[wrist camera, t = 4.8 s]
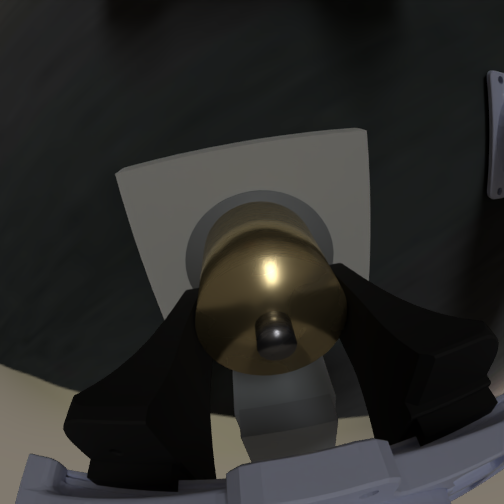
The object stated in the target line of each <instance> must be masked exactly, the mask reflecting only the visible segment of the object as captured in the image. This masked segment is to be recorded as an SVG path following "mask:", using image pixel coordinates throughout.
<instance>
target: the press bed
mask: <svg viewBox="0 0 504 504" xmlns="http://www.w3.org/2000/svg"><path fill="white" fill-rule="evenodd" d="M115 175H116V178H117V182H118V186H119V189H120V193H121V196H122V200H123V203H124V206H125V210H126V213H127V216H128V219H129V223H130V226H131V229H132V232H133V235H134V238H135V241H136V244H137V247H138V250H139V253H140V256H141V259H142V262H143V264H144V267H145V270H146V273H147V276H148V278H149V281H150V284H151V286H152V289H153V292H154V294H155V297H156V300H157V302H158V305H159V307H160V310H161V312H162V315H163V317H164V320H165V319H166V317H167V316H168V315H169V313H170V312H171V311H172V309H173V308H174V306H175V305H176V303H177V302H178V300H179V299H180V298H181V296H182V295H183V293H184V292H185V291H186V290H189V289H195V288H199V284H200V276H201V268H202V261H203V254H204V247H205V241H206V238H207V235H208V233H209V231H210V229H211V228H212V226H213V225H214V223H215V222H216V221H217V220H218V219H219V218H220V217H221V216H222V215H223V214H225V213H226V212H227V211H229V210H231V209H233V208H235V207H236V206H239V205H242V204H245V203H250V202H258V201H262V202H272V203H276V204H280V205H282V206H285V207H287V208H289V209H290V210H292V211H293V212H295V213H296V214H297V215H298V216H299V217H300V218H301V219H302V220H303V221H304V222H305V224H306V226H307V227H308V229H309V231H310V232H311V234H312V236H313V237H314V239H315V241H316V243H317V244H318V246H319V248H320V250H321V251H322V253H323V255H324V257H325V258H326V260H327V262H328V264H329V265H331V264H336V263H342V264H344V265H345V266H347V267H348V268H350V269H351V270H353V271H354V272H356V273H357V274H359V275H360V276H362V277H363V278H365V279H366V280H368V281H369V264H370V181H369V159H368V143H367V131H366V130H363V129H359V128H347V129H335V130H325V131H315V132H306V133H298V134H290V135H283V136H275V137H268V138H262V139H255V140H249V141H243V142H237V143H232V144H226V145H221V146H216V147H210V148H205V149H201V150H196V151H191V152H186V153H182V154H177V155H173V156H169V157H164V158H160V159H156V160H152V161H148V162H144V163H140V164H136V165H133V166H129V167H125V168H123V169H121V170H120V171H119V172H117V173H116V174H115ZM233 392H234V413H235V417H236V420H237V422H238V425H239V427H240V432H241V439H242V441H243V444H244V446H245V448H246V450H247V452H248V455H249V457H250V460H251V462H255V461H260V460H267V459H274V458H280V457H286V456H292V455H297V454H303V453H308V452H313V451H317V450H322V449H326V448H331V447H335V443H336V434H337V426H338V418H337V414H336V411H335V401H336V396H335V393H334V390H333V387H332V383H331V380H330V377H329V374H328V371H327V368H326V365H325V362H324V359H323V356H321V357H320V358H319V359H317V360H316V361H314V362H312V363H311V364H309V365H307V366H305V367H302V368H300V369H298V370H295V371H291V372H288V373H283V374H278V375H265V376H261V375H250V374H244V373H240V372H237V371H234V370H233Z"/></svg>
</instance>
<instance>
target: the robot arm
mask: <svg viewBox="0 0 504 504" xmlns="http://www.w3.org/2000/svg"><path fill="white" fill-rule="evenodd" d="M498 79H499V81H498ZM487 87H488V101H489V167H488V182H487V195H488V197H489V198H491V199H499V198H504V73H501V72H497V71H489V72H488V73H487ZM497 191H498V192H497ZM330 267H331V269H332V271H333V273H334V274H335V276H336V278H337V280H338V282H339V283H340V285H341V287H342V289H343V291H344V294H345V296H346V301H347V319H346V323H345V326H344V329H343V331H342V333H341V335H340V337H339V338H340V340H341V342H342V344H343V346H344V348H345V351H346V353H347V355H348V357H349V359H350V361H351V363H352V365H353V367H354V370H355V372H356V375H357V378H358V381H359V384H360V387H361V390H362V393H363V396H364V400H365V403H366V407H367V410H368V414H369V418H370V422H371V425H372V429H373V434H374V438H375V439H374V438H371V439H365V440H360V441H354V442H351V443H347V444H343V445H339V446H335V447H331V448H326V449H322V450H317V451H313V452H308V453H303V454H297V455H292V456H286V457H280V458H274V459H267V460H260V461H255V462H251V463H247V464H242V465H240V466H238V467H236V468H234V469H233V470H230V471H229V472H228V473H227V474H226V479H216V473H215V465H214V456H213V447H212V434H211V420H210V386H211V374H212V362H213V358H212V357H211V356H209V354H208V353H207V352H206V351H205V350H204V348H203V347H202V345H201V344H200V341H199V339H198V337H197V333H196V329H195V316H196V308H197V299H198V291H199V288H195V289H189V290H186V291H185V292H184V293H183V295H182V296H181V298H180V299H179V300H178V302H177V303H176V305H175V306H174V308H173V309H172V311H171V312H170V313H169V315H168V316H167V317H166V319H165V320H164V322H163V323H162V324H161V325H160V327H159V328H158V329H157V330H156V332H155V333H154V334H153V335H152V336H151V338H150V339H149V340H148V341H147V342H146V343H145V344H144V345H143V346H142V347H141V348H140V349H139V350H138V351H137V352H136V353H135V354H134V355H133V356H132V357H131V358H129V359H128V360H127V361H126V362H125V363H123V364H122V365H121V366H120V367H119V368H118V369H116V370H115V371H113V372H112V373H111V374H109V375H108V376H107V377H105V378H104V379H102V380H101V381H99V382H97V383H96V384H94V385H92V386H91V387H89V388H87V389H85V390H84V391H82V392H80V393H78V394H76V395H74V397H73V399H72V402H71V405H70V408H69V410H68V414H67V417H66V419H65V422H64V428H63V430H64V432H65V434H66V436H67V437H68V438H69V439H70V440H71V442H72V443H74V445H75V446H77V447H78V448H79V449H80V450H81V451H82V452H83V453H84V454H85V455H86V456H88V457H89V458H90V459H91V460H90V465H89V469H88V473H84V472H78V471H72V470H67V469H66V467H64V466H63V465H62V464H61V463H60V462H58V461H56V460H54V459H52V458H48V457H44V456H39V455H35V454H30V455H29V457H28V460H27V463H26V466H25V470H24V473H23V477H22V480H21V483H20V487H19V491H18V494H17V498H16V502H15V504H451V501H453V500H455V499H457V498H458V497H460V496H462V495H464V494H465V493H467V492H469V491H470V490H472V489H474V488H475V487H477V486H479V485H480V484H482V483H483V482H485V481H486V480H488V479H489V478H491V477H492V476H494V475H495V474H497V473H498V472H500V471H501V470H503V469H504V394H502V395H500V396H499V397H497V398H495V397H494V395H493V394H492V392H491V390H490V389H489V387H488V386H490V384H491V381H490V380H489V378H488V377H487V373H488V371H489V369H490V367H491V365H492V363H493V361H494V359H495V356H496V354H497V351H498V343H499V342H498V339H497V337H496V336H495V335H494V333H493V332H492V331H491V330H490V329H489V328H488V326H487V325H486V324H485V323H484V322H483V321H476V320H469V319H462V318H457V317H452V316H448V315H444V314H440V313H437V312H433V311H430V310H427V309H424V308H421V307H419V306H416V305H413V304H411V303H409V302H407V301H404V300H402V299H400V298H398V297H396V296H394V295H392V294H390V293H388V292H386V291H385V290H383V289H381V288H379V287H378V286H376V285H374V284H373V283H371V282H369V281H368V280H366V279H365V278H363V277H362V276H360V275H359V274H357V273H356V272H354V271H353V270H351V269H350V268H348V267H347V266H345V265H344V264H342V263H336V264H331V265H330Z"/></svg>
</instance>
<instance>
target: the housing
mask: <svg viewBox="0 0 504 504" xmlns="http://www.w3.org/2000/svg"><path fill="white" fill-rule="evenodd" d="M346 319H347V301H346V296H345V294H344V291H343V289H342V287H341V285H340V283H339V282H338V280H337V278H336V276H335V274H334V273H333V271H332V269H331V267H330V265H329V264H328V262H327V260H326V258H325V257H324V255H323V253H322V251H321V250H320V248H319V246H318V244H317V243H316V241H315V239H314V237H313V236H312V234H311V232H310V231H309V229H308V227H307V226H306V224H305V222H304V221H303V220H302V219H301V218H300V217H299V216H298V215H297V214H296V213H295V212H293V211H292V210H290V209H289V208H287V207H285V206H282V205H280V204H276V203H272V202H262V201H258V202H250V203H245V204H242V205H239V206H236V207H235V208H233V209H231V210H229V211H227V212H226V213H225V214H223V215H222V216H221V217H220V218H219V219H218V220H217V221H216V222H215V223H214V225H213V226H212V228H211V229H210V231H209V233H208V235H207V238H206V241H205V247H204V254H203V261H202V268H201V276H200V284H199V291H198V299H197V308H196V316H195V329H196V333H197V337H198V339H199V341H200V344H201V345H202V347H203V348H204V350H205V351H206V352H207V353H208V354H209V356H211V357H212V358H213V359H214V360H215V361H217V362H218V363H220V364H221V365H223V366H225V367H227V368H229V369H231V370H234V371H237V372H240V373H244V374H250V375H261V376H265V375H278V374H283V373H288V372H291V371H295V370H298V369H300V368H302V367H305V366H307V365H309V364H311V363H312V362H314V361H316V360H317V359H319V358H320V357H321V356H323V355H324V354H325V353H326V352H327V351H328V350H329V349H330V348H331V347H332V346H333V345H334V344H335V342H336V341H337V340H338V338H339V337H340V335H341V333H342V331H343V329H344V326H345V323H346Z"/></svg>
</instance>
